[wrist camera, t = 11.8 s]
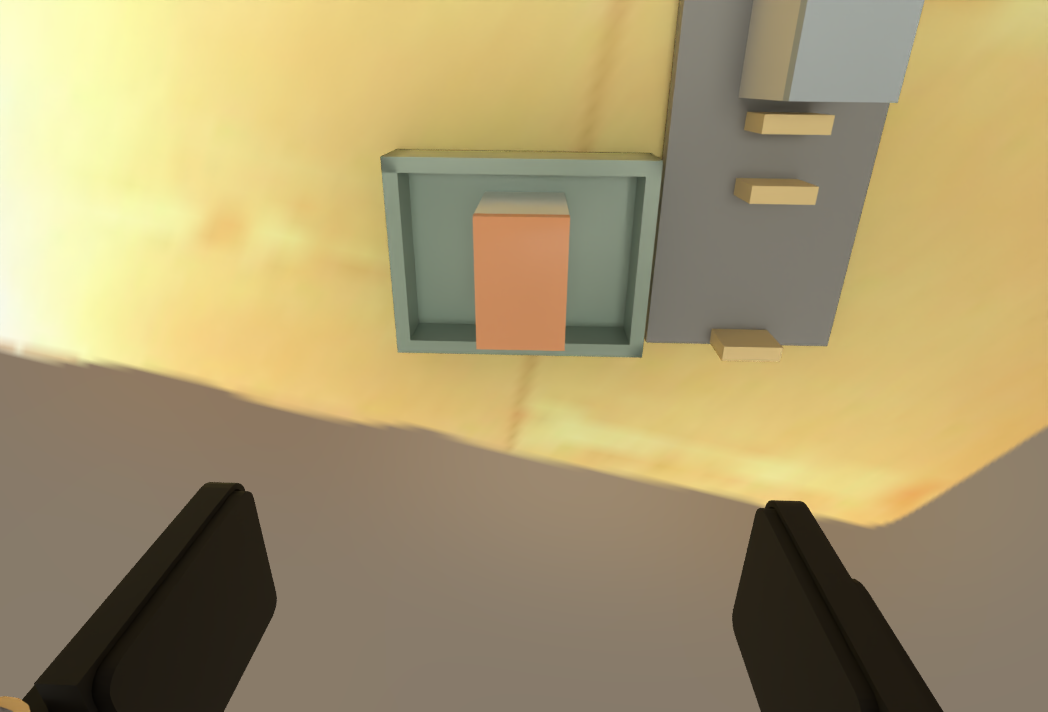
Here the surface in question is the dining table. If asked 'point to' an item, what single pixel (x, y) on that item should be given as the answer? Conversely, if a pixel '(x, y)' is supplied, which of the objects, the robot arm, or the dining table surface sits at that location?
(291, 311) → the dining table surface
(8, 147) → the dining table surface
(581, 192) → the tray
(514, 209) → the block
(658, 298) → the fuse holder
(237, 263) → the dining table surface
